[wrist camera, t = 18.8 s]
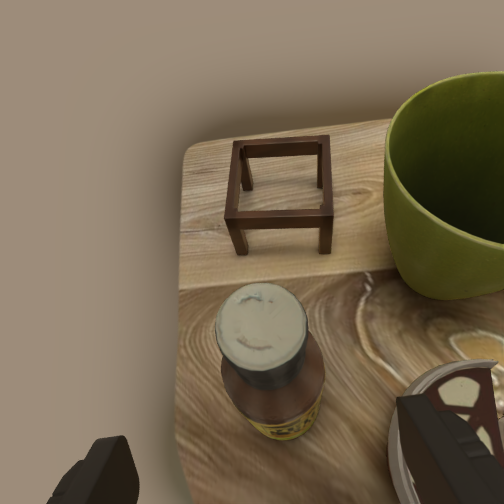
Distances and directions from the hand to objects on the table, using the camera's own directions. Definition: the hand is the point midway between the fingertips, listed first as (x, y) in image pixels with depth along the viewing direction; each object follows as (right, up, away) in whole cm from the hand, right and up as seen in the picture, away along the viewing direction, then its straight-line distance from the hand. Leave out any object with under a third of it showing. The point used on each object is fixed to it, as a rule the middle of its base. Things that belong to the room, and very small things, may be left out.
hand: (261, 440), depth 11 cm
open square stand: (+3, +10, +31) cm, 33 cm away
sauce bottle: (+3, -8, +22) cm, 23 cm away
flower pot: (+18, +4, +26) cm, 32 cm away
